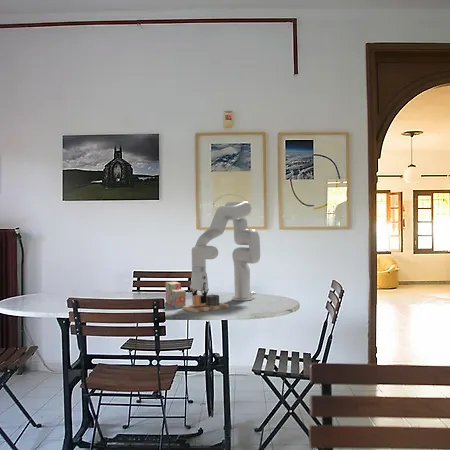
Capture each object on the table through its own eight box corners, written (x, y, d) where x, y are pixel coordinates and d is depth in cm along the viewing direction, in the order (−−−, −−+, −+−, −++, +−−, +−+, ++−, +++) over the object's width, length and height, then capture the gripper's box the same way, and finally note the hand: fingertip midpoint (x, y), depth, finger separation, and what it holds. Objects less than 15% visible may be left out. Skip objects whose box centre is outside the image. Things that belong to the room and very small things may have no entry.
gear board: (214, 304, 275) (214, 292, 275) (229, 307, 265) (228, 294, 265) (182, 309, 262) (182, 296, 262) (196, 312, 252) (196, 299, 251)
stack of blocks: (185, 307, 268) (185, 285, 268) (175, 308, 266) (174, 286, 265) (175, 301, 288) (175, 281, 288) (165, 302, 286) (165, 281, 285)
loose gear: (200, 303, 266) (200, 294, 266) (208, 305, 260) (208, 295, 260) (189, 304, 261) (189, 295, 261) (197, 306, 256) (197, 297, 256)
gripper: (214, 270, 256) (214, 303, 256) (195, 267, 270) (195, 299, 270) (202, 271, 251) (203, 305, 252) (184, 268, 265) (184, 301, 265)
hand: (199, 301), depth 261 cm, fingers closed on loose gear, 7 cm apart
